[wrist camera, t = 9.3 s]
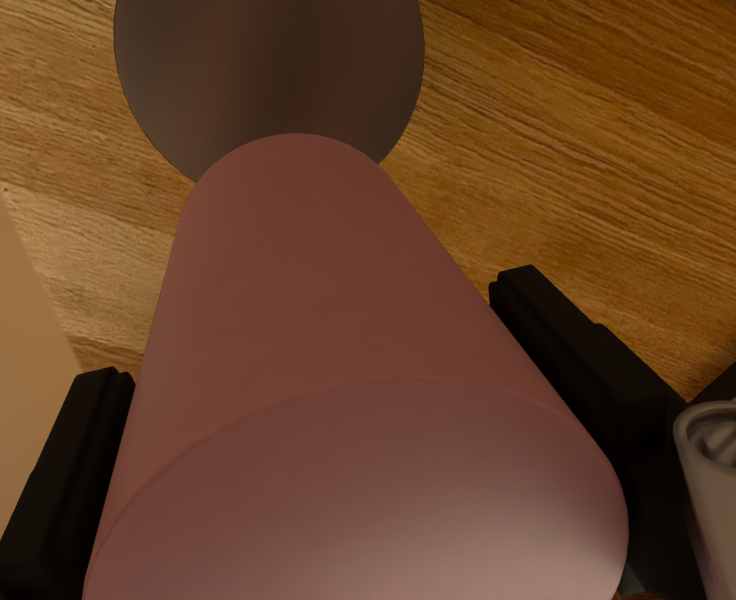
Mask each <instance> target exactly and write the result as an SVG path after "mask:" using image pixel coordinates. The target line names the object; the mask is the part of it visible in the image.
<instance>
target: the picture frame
mask: <svg viewBox="0 0 736 600" xmlns="http://www.w3.org/2000/svg"><path fill="white" fill-rule="evenodd" d="M720 400H723V401H736V362H735V363H734V364H733V365H732V366H731V367H729V368H728V369H727V370H726V371H725V372H724V373H723V374H722V375H721V376H719V377H718V378H717V379H716V380H715V381H714V382H713V383H712V384H710V385H709V386H708V387H707V388H706V389H705V390H704V391H703V392H702V393H700V394H699V395H698V396H697V397H696V398H695V399H694V400H693V401H691V402H690V403H689V405H690V406H694V405H697V404H700V403H703V402H711V401H720Z"/></svg>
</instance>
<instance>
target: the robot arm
mask: <svg viewBox="0 0 736 600" xmlns="http://www.w3.org/2000/svg"><path fill="white" fill-rule="evenodd" d="M489 300H490V307H491V308H492V310H493V311H494V312H495V313H496V315H497V316H498V317H499V319H500V320H501V321H502V322H503V324H504V325H505V326H506V328H507V329H508V330H509V331H510V333H511V334H512V335H513V337H514V338H515V339H516V340H517V342H518V343H519V344H520V346H521V347H522V348H523V349H524V351H525V352H526V353H527V355H528V356H529V357H530V358H531V360H532V361H533V362H534V364H535V365H536V366H537V367H538V369H539V370H540V371H541V373H542V374H543V375H544V376H545V378H546V379H547V380H548V382H549V383H550V384H551V385H552V387H553V388H554V389H555V391H556V392H557V393H558V394H559V396H560V397H561V398H562V400H563V401H564V402H565V403H566V405H567V406H568V407H569V409H570V410H571V411H572V413H573V414H574V415H575V416H576V418H577V419H578V420H579V422H580V423H581V424H582V425H583V427H584V428H585V429H586V431H587V432H588V433H589V434H590V436H591V437H592V438H593V440H594V441H595V442H596V444H597V445H598V446H599V448H600V449H601V450H602V452H603V453H604V454H605V456H606V457H607V458H608V460H609V461H610V463H611V465H612V467H613V469H614V471H615V473H616V475H617V477H618V479H619V482H620V484H621V486H622V490H623V494H624V498H625V502H626V506H627V511H628V526H629V540H628V548H627V557H626V562H625V565H624V569H623V572H622V576H621V579H620V582H619V585H618V587H617V590H618V592H619V594H620V595H621V597H626V596H629V595H633V594H636V593H640V592H643V591H646V592H647V593H648V594H650V595H653V596H656V597H658V598H661V599H663V600H736V401H723V400H720V401H711V402H703V403H700V404H697V405H694V406H690V405H689V404H688V403H687V402H686V401H685V400H684V399H683V398H682V397H681V396H680V395H679V394H678V393H676V392H675V391H674V390H673V389H672V388H671V387H670V386H669V385H668V384H667V383H666V382H665V381H664V380H663V379H661V378H660V377H659V376H658V375H657V374H656V373H655V372H654V371H653V370H652V369H651V368H650V367H649V366H648V365H646V364H645V363H644V362H643V361H642V360H641V359H640V358H639V357H638V356H637V355H636V354H635V353H634V352H633V351H631V350H630V349H629V348H628V347H627V346H626V345H625V344H624V343H623V342H622V341H621V340H620V339H619V338H618V337H616V336H615V335H614V334H613V333H612V332H611V331H610V330H609V329H608V328H607V327H605V326H604V325H602V324H594V323H593V322H592V321H591V320H590V319H589V318H588V317H587V316H586V315H585V314H584V313H582V312H581V311H580V310H579V309H578V308H577V307H576V306H575V305H574V304H573V303H572V302H571V301H570V300H569V299H568V298H567V297H566V296H565V295H564V294H563V293H562V292H561V291H559V290H558V289H557V288H556V287H555V286H554V285H553V284H552V283H551V282H550V281H549V280H548V279H547V278H546V277H545V276H544V275H543V274H542V273H541V272H540V271H539V270H537V269H536V268H535V267H534V266H533V265H531V264H530V265H526V266H522V267H518V268H513V269H509V270H505V271H501V272H499V273H498V277H497V281H495V282H491V283H489ZM135 386H136V385H135V382H134V380H133V378H132V376H131V375H130V374H129V373H128V372H123V373H119V372H118V370H117V369H116V368H115V367H113V366H111V367H107V368H103V369H99V370H95V371H91V372H87V373H83V374H79V375H77V376H76V377H75V379H74V381H73V383H72V385H71V388H70V390H69V392H68V394H67V396H66V399H65V401H64V403H63V405H62V408H61V410H60V412H59V414H58V417H57V419H56V421H55V423H54V425H53V428H52V430H51V432H50V434H49V437H48V439H47V441H46V444H45V446H44V448H43V450H42V452H41V455H40V457H39V459H38V461H37V463H36V466H35V468H34V469H33V471H32V473H31V474H30V476H29V478H28V480H27V483H26V485H25V487H24V489H23V492H22V494H21V496H20V498H19V501H18V503H17V505H16V507H15V510H14V512H13V514H12V516H11V518H10V521H9V523H8V525H7V527H6V529H5V531H4V534H3V536H2V538H1V540H0V600H82V595H83V588H84V581H85V576H86V572H87V569H88V565H89V561H90V557H91V553H92V550H93V546H94V542H95V538H96V534H97V531H98V527H99V523H100V519H101V515H102V512H103V508H104V504H105V500H106V496H107V493H108V489H109V485H110V481H111V477H112V474H113V470H114V466H115V462H116V458H117V455H118V451H119V447H120V443H121V439H122V436H123V432H124V428H125V424H126V420H127V417H128V413H129V409H130V405H131V401H132V398H133V394H134V390H135Z"/></svg>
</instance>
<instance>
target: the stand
mask: <svg viewBox="0 0 736 600" xmlns="http://www.w3.org/2000/svg"><path fill="white" fill-rule="evenodd" d="M113 27H114V51H115V58H116V64H117V71H118V74H119V78H120V81H121V85H122V88H123V92H124V94H125V97H126V99H127V101H128V104H129V106H130V108H131V111H132V113H133V115H134V116H135V118H136V120H137V122H138V123H139V125H140V127H141V129H142V130H143V132H144V133H145V135H146V136H147V137H148V139H149V140H150V141H151V143H152V144H153V145H154V147H155V148H156V149H157V150H158V151H159V152H160V153H161V154H162V155H163V156H164V157H165V159H166V160H167V161H168V162H169V163H170V164H172V165H173V166H174V167H175V168H176V169H178V170H179V171H180V172H181V173H182V174H184V175H185V176H186V177H188V178H189V179H191V180H192V181H194V182H195V183H197V182H198V181H199V179H200V178H201V177H202V176H203V175H204V174H205V173H206V171H207V170H208V169H209V168H210V167H211V166H212V165H214V164H215V163H216V162H217V161H218V160H220V159H221V158H222V157H223V156H225V155H227V154H228V153H230V152H231V151H233V150H235V149H236V148H238V147H240V146H243V145H245V144H247V143H249V142H252V141H254V140H258V139H261V138H265V137H268V136H274V135H281V134H298V133H303V134H312V135H320V136H324V137H328V138H332V139H335V140H338V141H340V142H343V143H345V144H348V145H350V146H352V147H354V148H355V149H357V150H359V151H361V152H363V153H364V154H365V155H367V156H368V157H369V158H371V159H372V160H373V161H375V162H376V163H377V164H378V165H379V164H380V163H381V162H382V161H383V160H384V159H385V158H386V157H387V155H388V154H389V153H390V151H391V150H392V149H393V147H394V146H395V145H396V143H397V142H398V141H399V139H400V137H401V135H402V134H403V132H404V130H405V128H406V127H407V125H408V123H409V120H410V118H411V116H412V113H413V111H414V109H415V106H416V102H417V99H418V95H419V92H420V88H421V82H422V76H423V70H424V53H425V45H424V32H423V24H422V19H421V13H420V8H419V4H418V1H417V0H117V1H116V7H115V16H114V26H113Z"/></svg>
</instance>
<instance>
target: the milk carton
mask: <svg viewBox="0 0 736 600" xmlns="http://www.w3.org/2000/svg"><path fill="white" fill-rule="evenodd" d="M612 600H663V599H661V598H658V597H656V596H653V595H650V594H648V593H636V594H633V595H629V596H626V597H621V595H620V594H619V592H618V591H615V594H614V596H613V598H612Z"/></svg>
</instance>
